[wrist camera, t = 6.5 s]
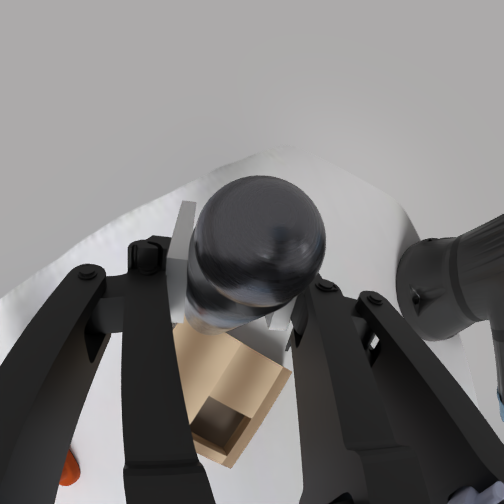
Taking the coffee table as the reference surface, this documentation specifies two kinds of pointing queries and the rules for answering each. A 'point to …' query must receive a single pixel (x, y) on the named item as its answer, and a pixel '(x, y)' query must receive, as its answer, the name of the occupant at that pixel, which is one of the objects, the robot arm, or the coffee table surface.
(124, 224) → the coffee table surface
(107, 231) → the coffee table surface
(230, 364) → the block
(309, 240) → the metal round-headed rod
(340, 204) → the coffee table surface
